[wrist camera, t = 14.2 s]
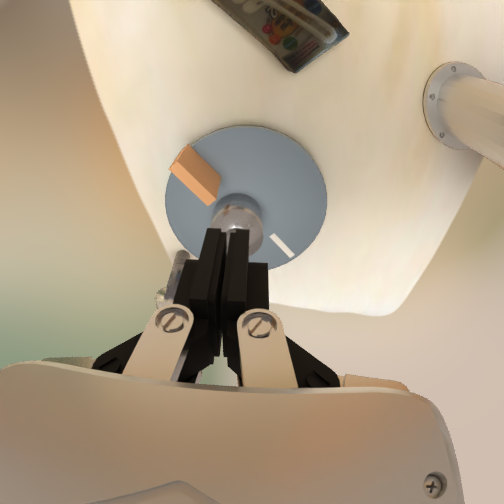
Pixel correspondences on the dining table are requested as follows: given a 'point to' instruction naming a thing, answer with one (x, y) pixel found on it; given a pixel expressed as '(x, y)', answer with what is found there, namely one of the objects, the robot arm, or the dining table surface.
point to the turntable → (248, 189)
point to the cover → (239, 218)
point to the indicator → (172, 281)
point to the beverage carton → (288, 27)
